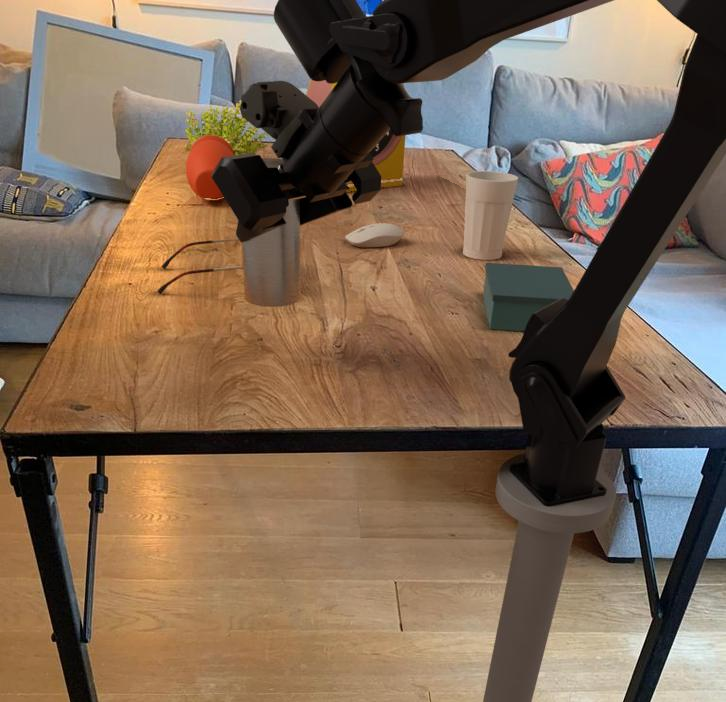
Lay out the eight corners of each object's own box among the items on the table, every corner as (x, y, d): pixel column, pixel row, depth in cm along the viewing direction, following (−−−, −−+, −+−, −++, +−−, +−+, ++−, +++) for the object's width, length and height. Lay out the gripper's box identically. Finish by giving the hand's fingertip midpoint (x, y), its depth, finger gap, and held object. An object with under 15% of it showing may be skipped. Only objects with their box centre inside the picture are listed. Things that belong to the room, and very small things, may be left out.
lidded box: (575, 335, 91) (582, 300, 88) (488, 329, 91) (493, 294, 89) (558, 299, 102) (564, 267, 99) (481, 294, 102) (485, 262, 100)
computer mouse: (340, 240, 123) (341, 221, 121) (394, 236, 126) (395, 218, 124) (353, 249, 118) (354, 230, 116) (408, 245, 121) (410, 227, 120)
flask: (303, 306, 76) (301, 168, 69) (245, 307, 76) (237, 168, 68) (298, 288, 81) (297, 157, 74) (244, 288, 81) (237, 156, 73)
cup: (467, 262, 115) (477, 181, 108) (451, 247, 121) (459, 170, 115) (514, 260, 117) (526, 181, 110) (495, 246, 123) (506, 170, 117)
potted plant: (273, 236, 143) (267, 160, 177) (274, 161, 134) (267, 96, 167) (173, 233, 141) (186, 157, 174) (166, 156, 131) (181, 91, 165)
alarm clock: (327, 194, 151) (329, 46, 137) (302, 186, 157) (302, 43, 142) (403, 184, 162) (413, 47, 148) (377, 177, 168) (384, 44, 154)
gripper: (362, 47, 70) (281, 155, 82) (218, 49, 58) (146, 177, 69) (424, 146, 71) (334, 240, 82) (294, 170, 58) (210, 278, 69)
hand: (261, 232), depth 76 cm, fingers closed on flask, 6 cm apart
